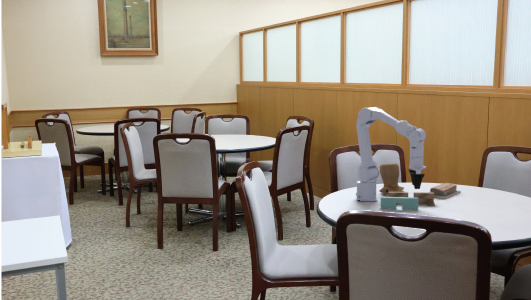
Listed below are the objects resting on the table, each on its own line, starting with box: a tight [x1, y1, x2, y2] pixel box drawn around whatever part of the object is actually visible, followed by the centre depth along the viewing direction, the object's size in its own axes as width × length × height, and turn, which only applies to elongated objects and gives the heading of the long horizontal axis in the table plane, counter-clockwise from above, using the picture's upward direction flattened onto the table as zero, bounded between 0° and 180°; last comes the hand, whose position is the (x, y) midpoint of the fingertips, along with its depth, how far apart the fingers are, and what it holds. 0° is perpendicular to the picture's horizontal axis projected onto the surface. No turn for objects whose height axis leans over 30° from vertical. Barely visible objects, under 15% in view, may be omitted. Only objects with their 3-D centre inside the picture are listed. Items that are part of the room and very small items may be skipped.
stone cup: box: [379, 162, 405, 196], centre depth 237 cm, size 15×12×15 cm
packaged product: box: [427, 182, 462, 200], centre depth 232 cm, size 18×5×10 cm
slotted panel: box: [380, 196, 419, 211], centre depth 208 cm, size 16×2×5 cm, turn 79°
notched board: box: [387, 191, 436, 207], centre depth 217 cm, size 20×8×5 cm, turn 79°
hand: (416, 186), depth 207 cm, fingers open, 7 cm apart
